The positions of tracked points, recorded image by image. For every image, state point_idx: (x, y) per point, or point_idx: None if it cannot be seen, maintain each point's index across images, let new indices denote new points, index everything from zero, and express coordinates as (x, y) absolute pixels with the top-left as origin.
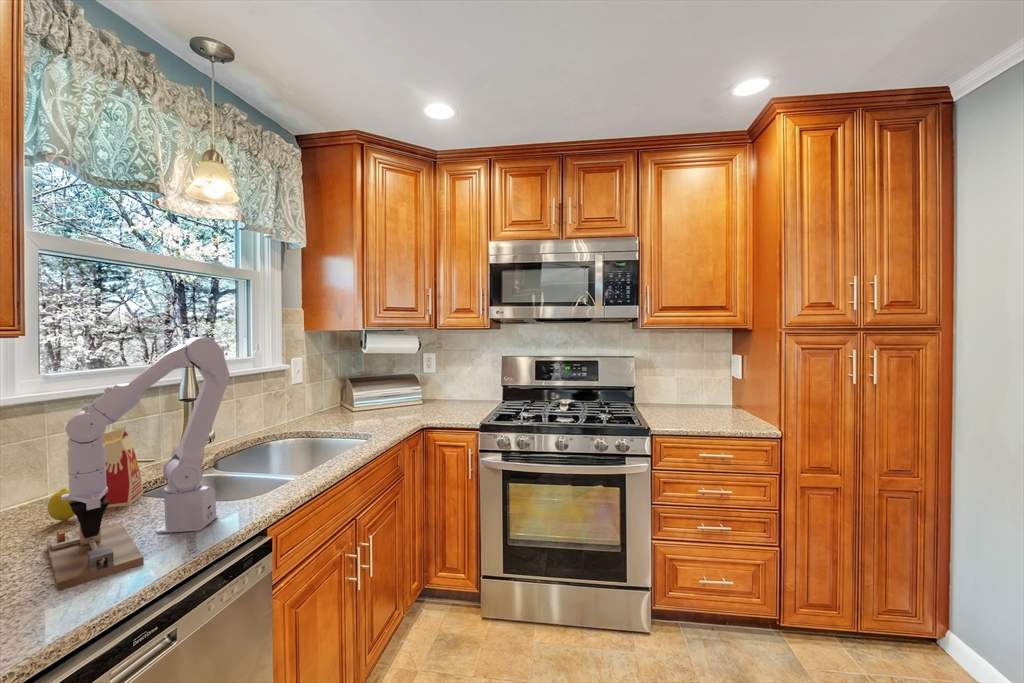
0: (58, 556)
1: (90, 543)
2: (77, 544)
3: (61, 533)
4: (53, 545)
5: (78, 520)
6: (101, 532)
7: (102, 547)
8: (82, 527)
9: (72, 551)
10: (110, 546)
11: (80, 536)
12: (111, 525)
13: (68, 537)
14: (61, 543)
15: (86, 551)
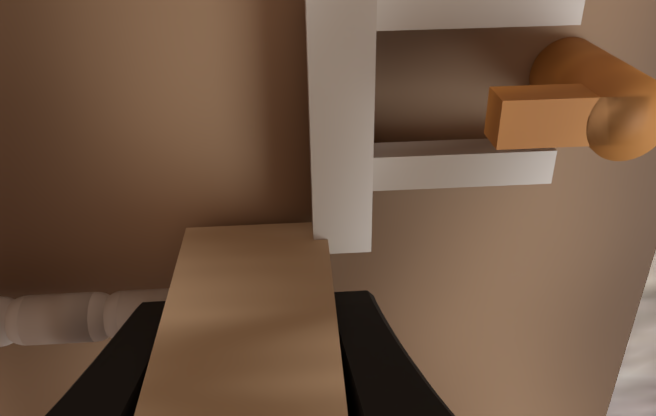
0: (27, 29)
1: (45, 313)
2: (301, 194)
3: (508, 124)
4: (328, 6)
5: (365, 411)
6: (469, 356)
7: (24, 346)
8: (52, 414)
9: (101, 150)
10: (5, 389)
11: (225, 278)
12: (589, 413)
13: (490, 154)
14: (324, 86)
15: (6, 247)
